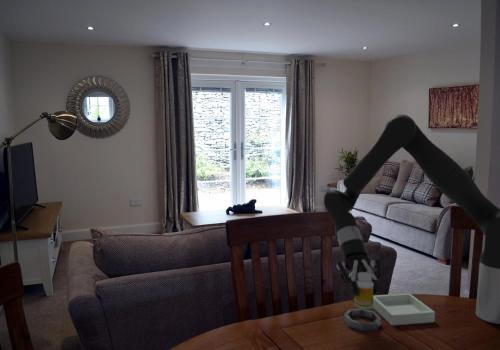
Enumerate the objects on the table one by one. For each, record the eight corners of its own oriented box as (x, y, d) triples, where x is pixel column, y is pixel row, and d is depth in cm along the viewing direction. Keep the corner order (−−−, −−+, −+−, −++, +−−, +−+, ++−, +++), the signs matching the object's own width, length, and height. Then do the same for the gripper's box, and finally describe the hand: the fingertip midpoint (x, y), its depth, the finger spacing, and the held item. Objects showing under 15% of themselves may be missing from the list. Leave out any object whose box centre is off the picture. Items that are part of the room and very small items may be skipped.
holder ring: (370, 313, 126) (370, 307, 126) (385, 329, 117) (386, 323, 116) (340, 315, 125) (340, 309, 125) (353, 332, 115) (353, 325, 115)
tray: (408, 302, 135) (409, 293, 135) (434, 322, 121) (435, 312, 121) (370, 304, 133) (370, 295, 132) (391, 325, 119) (392, 315, 119)
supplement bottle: (373, 310, 117) (374, 278, 116) (354, 308, 118) (355, 277, 117) (372, 302, 122) (373, 271, 121) (354, 300, 123) (354, 270, 122)
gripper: (333, 239, 124) (347, 291, 114) (376, 236, 126) (394, 287, 116) (327, 250, 130) (340, 301, 120) (368, 247, 132) (384, 297, 122)
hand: (366, 294), depth 118 cm, fingers closed on supplement bottle, 5 cm apart
